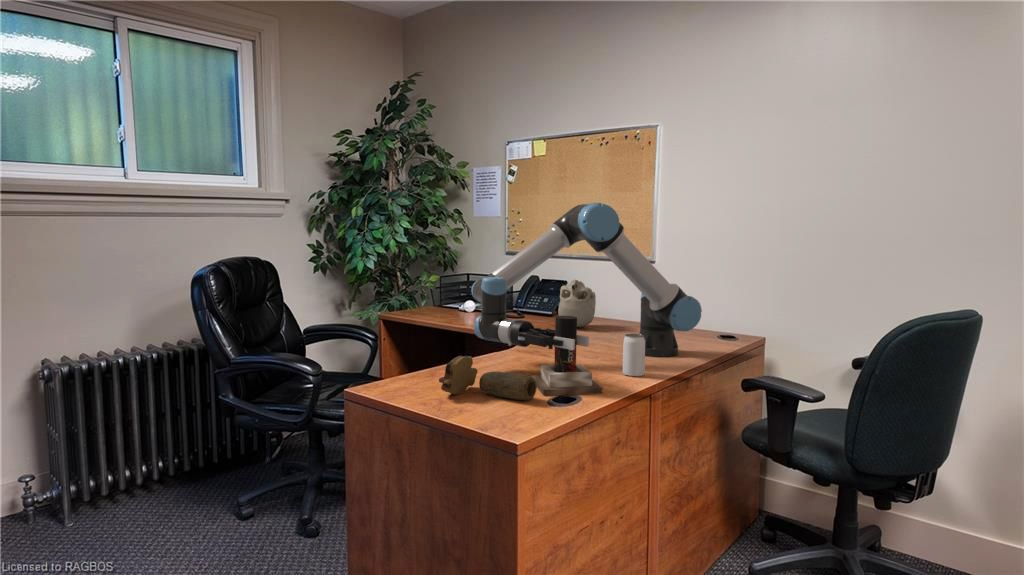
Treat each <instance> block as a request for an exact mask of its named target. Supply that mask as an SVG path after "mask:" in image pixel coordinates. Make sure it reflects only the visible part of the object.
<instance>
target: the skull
mask: <svg viewBox="0 0 1024 575" xmlns="http://www.w3.org/2000/svg"><path fill="white" fill-rule="evenodd" d="M559 292H560V293H559V294H560V295H559V299H560V301H559V305H558V310H557V312H558V316H574V317H577V327H580V328H584V327H587V326H589V325H590V324H591V323H592V322H593V321H594V318H595V314H596V306H597V303H596V293H595V291H593V290H592V289H591V288H590V287H589V286H588V287H586V286H585V284H584V282H582V281H579V280H577V279H572V280H571V281H570V283H568V284H566V285H565V284H564V285H562V286H561V287H560V290H559Z"/></svg>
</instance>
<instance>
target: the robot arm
mask: <svg viewBox="0 0 1024 575" xmlns="http://www.w3.org/2000/svg"><path fill="white" fill-rule="evenodd" d="M624 232H625V227H624V226H623V224H622V223H621V222H620V217H619V214H618V213H617V211H616V210H615V209H614V208H613V207H612V206H610V205H609V204H606V203H602V202H592V203H586V204H585V203H583V204H582V203H581V204H578V205H575V206H574V207H572V208H570V209H569V210H568V211H567V212H565V213H564V214H563V215H562V216H561V217H559V218H558V219H556V220H555V221H554V222H553V223H551V225H550V229H548V230H547V231H546V232H544V233H543V234H542V235H540V236H539V237H538V238H537V239H535V240H533V241H532V242H530V244H528V245H527V246H526V247H524V248H523V249H521V250H520V251H519V252H518V253H516V254H515V255H513V256H512V257H511V258H509V259H508V260H506V261H505V262H504V263H503V264H501V265H500V266H499V267H497V268H496V269H495V270H493V271H492V272H491V273H490V274H488V275H487V276H485V277H484V278H480V279H477V280H476V281H475V282H474V283H472V286H471V289H470V290H471V295H472V297H473V299H474V300H475V301H476V302H478V303H480V304H481V315H478V316H477V317H476V318H475V322H474V323H473V331H474V335H475V336H476V337H478V338H479V339H482V340H485V341H489V342H490V341H491V342H497V343H502V344H508V346H509V347H511V346H512V345H514V346H519V347H523V348H525V347H528V346H530V345H532V346H538V347H543V348H547V347H548V350H553V347H554V348H555V347H559V348H564V349H570V350H575V340H574V339H568V338H562V337H556V336H555V329H552V328H544V329H543V328H541V327H534V324H533V323H532V322H531V321H530V320H529V321H528V320H521V319H517V318H516V319H514V318H509V317H507V291H508V290H509V289H510V288H512V286H514V285H516V284H517V283H518V282H519V281H521V280H522V279H523V278H525V277H526V276H528V274H531V272H533V271H534V270H535V269H537V268H538V267H540V266H541V265H542V264H544V263H545V262H546V261H548V260H549V259H550V258H551V257H553V256H554V255H555V254H557V253H558V252H559V251H561V250H562V249H564V248H566V249H568V248H570V247H571V246H573V245H574V244H577V243H578V242H581V241H585V242H586V243H587V244H588V245H589V246H590V247H591V248H592V249H593V250H594V252H596V253H603V254H605V255H606V257H607V258H608V259H609V260H610V261H611V262H612V263H613V264H614V266H616V267H617V269H619V270H620V272H622V274H623V275H624V276H625V277H626V278H627V279H628V280H629V281H630V282H631V283H632V284H633V285H634V287H636V289H638V290H639V292H641V295H640V326H639V327H640V328H639V329H640V330H639V332H638V334H641V335H644V339H645V356H647V355H648V357H649V356H650V357H659V356H665V357H672V356H671V355H675V356H677V355H679V345H678V341H677V338H676V335H675V331H676V332H689V331H691V330H692V329H694V328H695V327H697V325H698V324H699V323H700V321H701V318H702V312H703V310H702V309H703V308H702V306H701V303H700V302H699V300H698V299H696V298H695V297H693V296H691V295H688V294H687V293H685V291H683V289H682V288H681V287H680V286H679V285H678V284H677V283H670V282H669V281H668V280H667V279H666V278H665V277H664V276H663V275H662V274H661V272H659V270H658V269H657V268H656V267H655V266H654V265H653V263H652V262H650V260H648V258H647V257H646V256H645V255H644V254H643V253H642V252H641V251H640V250H639V249H638V247H636V245H635V244H634V243H633V242H632V241H631V240H630V239H629V238H628V237H627V235H626V234H624ZM576 346H582V347H590V336H588V335H587V336H586V335H582V334H577V341H576ZM676 354H677V355H676Z"/></svg>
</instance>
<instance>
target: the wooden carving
mask: <svg viewBox="0 0 1024 575" xmlns="http://www.w3.org/2000/svg"><path fill="white" fill-rule="evenodd" d="M473 363H474V362H473V357H472V356H469V355H464V356H463V355H458V356H456V357H454V358H452V360H450V361H449V362H447V364H446V365H445V369H444V375H443V376H442V377H440V378H438V382H439V383H441V384H442V385H441V387H440V389H441V390H442V391H443V392H446V393H450V394H452V395H455V396H457V395H458V394H459V395H461V394H462V392H463V393H464V392H465V391H466V390H467V388H469V386H470V387H472V386H474V384H475V382H476V377H477V374H478V369H477V368H476V367H473ZM460 393H461V394H460Z"/></svg>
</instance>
